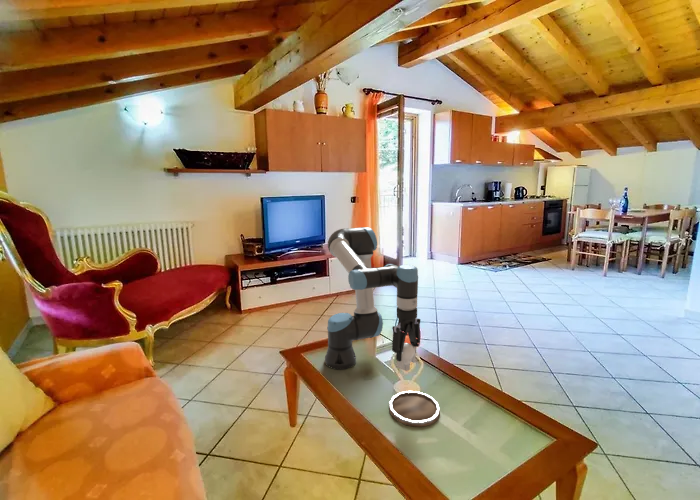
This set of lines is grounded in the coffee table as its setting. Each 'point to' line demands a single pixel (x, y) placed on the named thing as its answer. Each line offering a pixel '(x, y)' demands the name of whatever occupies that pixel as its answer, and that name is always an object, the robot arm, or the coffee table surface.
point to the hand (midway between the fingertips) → (406, 364)
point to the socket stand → (414, 409)
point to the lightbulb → (408, 355)
